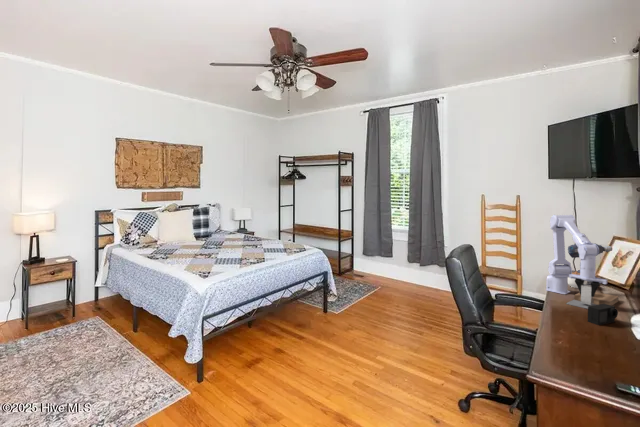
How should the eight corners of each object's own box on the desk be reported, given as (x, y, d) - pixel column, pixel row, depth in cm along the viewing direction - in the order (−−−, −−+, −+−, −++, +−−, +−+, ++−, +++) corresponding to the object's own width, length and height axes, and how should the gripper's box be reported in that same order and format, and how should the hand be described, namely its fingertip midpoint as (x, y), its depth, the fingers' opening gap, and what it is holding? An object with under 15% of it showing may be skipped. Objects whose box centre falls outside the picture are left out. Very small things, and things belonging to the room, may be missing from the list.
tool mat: (565, 303, 161) (565, 303, 161) (573, 299, 167) (573, 299, 167) (601, 312, 150) (601, 311, 150) (608, 307, 155) (608, 307, 155)
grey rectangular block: (580, 303, 159) (581, 285, 158) (583, 301, 161) (584, 284, 161) (590, 305, 156) (591, 287, 155) (593, 303, 158) (594, 285, 157)
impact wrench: (614, 286, 189) (616, 244, 188) (571, 284, 194) (572, 244, 192) (605, 282, 197) (606, 242, 195) (564, 281, 201) (565, 242, 200)
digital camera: (601, 326, 134) (602, 310, 134) (587, 321, 139) (587, 306, 139) (618, 323, 137) (618, 307, 137) (603, 318, 142) (604, 303, 142)
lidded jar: (592, 289, 184) (593, 273, 183) (573, 289, 184) (574, 273, 183) (578, 284, 194) (578, 269, 194) (560, 284, 195) (560, 269, 194)
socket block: (574, 299, 168) (574, 294, 167) (584, 294, 175) (584, 289, 175) (609, 306, 156) (609, 301, 156) (618, 301, 164) (618, 296, 164)
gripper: (566, 266, 161) (566, 293, 162) (604, 272, 149) (603, 300, 150) (572, 264, 165) (571, 290, 166) (609, 270, 153) (608, 297, 154)
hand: (587, 295), depth 158 cm, fingers closed on grey rectangular block, 4 cm apart
